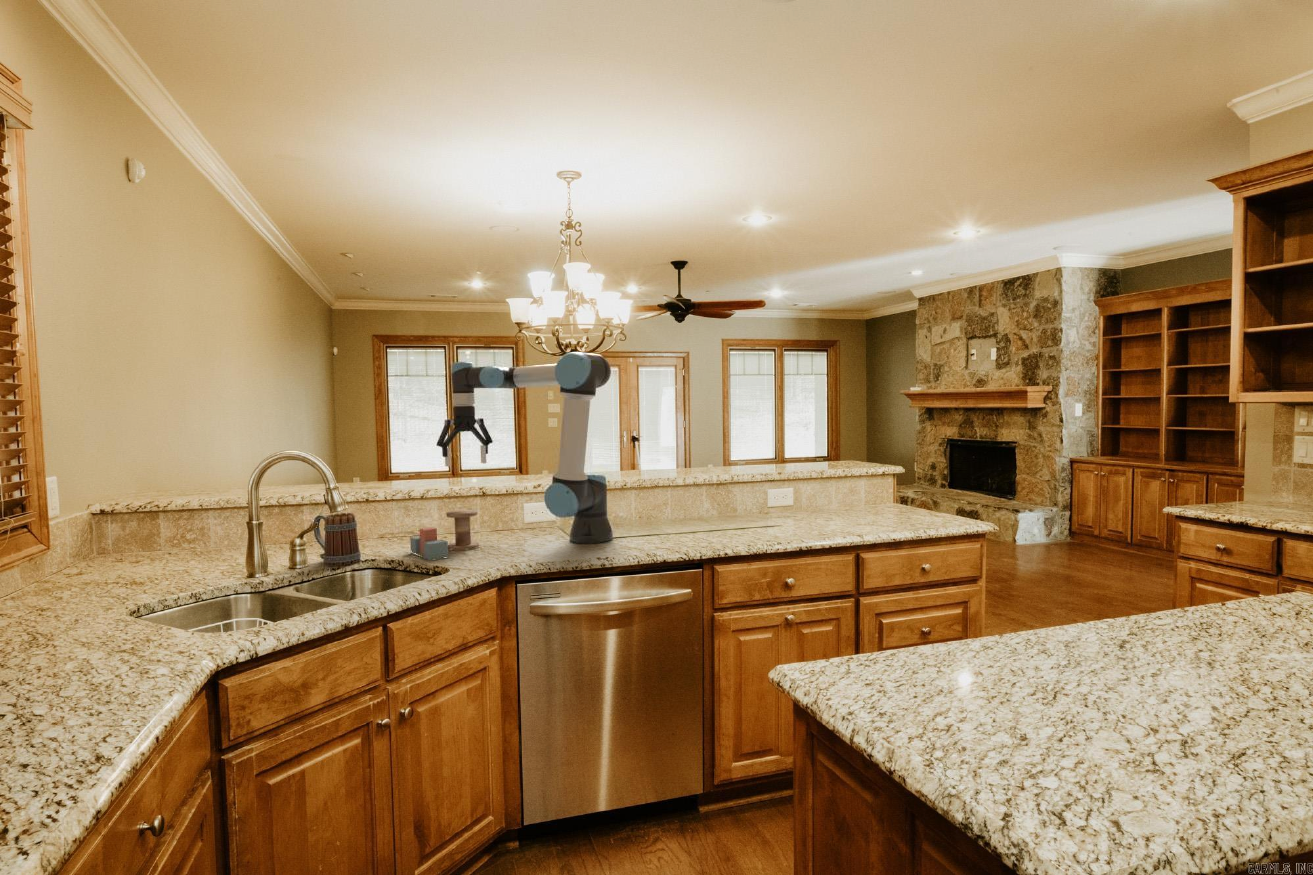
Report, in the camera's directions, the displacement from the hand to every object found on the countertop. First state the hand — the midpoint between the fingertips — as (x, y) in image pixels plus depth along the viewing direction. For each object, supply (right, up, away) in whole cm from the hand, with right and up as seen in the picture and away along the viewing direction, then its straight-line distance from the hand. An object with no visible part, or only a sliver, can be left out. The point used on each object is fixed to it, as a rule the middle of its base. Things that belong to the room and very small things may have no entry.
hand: (466, 464), depth 243 cm
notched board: (-5, -28, -24) cm, 38 cm away
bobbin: (+3, -27, -14) cm, 31 cm away
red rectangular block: (-5, -28, -24) cm, 37 cm away
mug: (-32, -30, -31) cm, 53 cm away
